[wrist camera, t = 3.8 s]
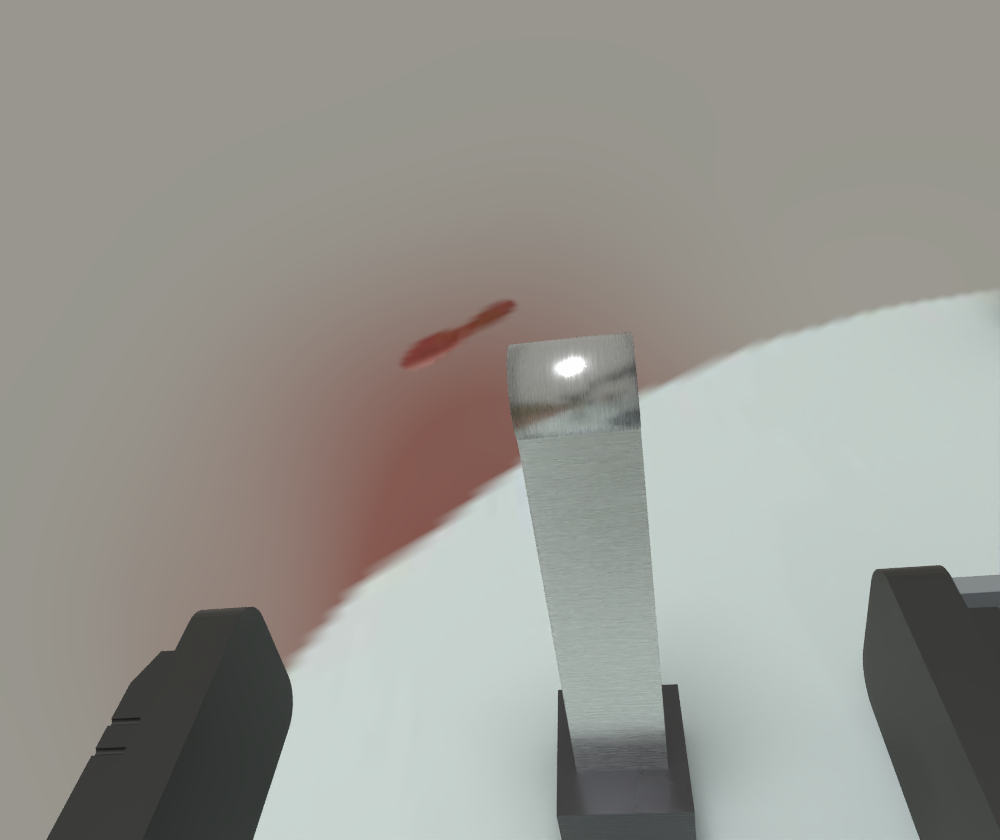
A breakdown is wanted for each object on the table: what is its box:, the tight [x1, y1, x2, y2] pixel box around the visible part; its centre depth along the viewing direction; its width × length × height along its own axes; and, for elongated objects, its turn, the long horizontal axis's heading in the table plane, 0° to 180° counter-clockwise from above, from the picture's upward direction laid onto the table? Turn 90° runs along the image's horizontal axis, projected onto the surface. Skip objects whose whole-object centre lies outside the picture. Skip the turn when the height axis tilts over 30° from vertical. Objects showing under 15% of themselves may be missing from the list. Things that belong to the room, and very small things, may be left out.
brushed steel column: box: [507, 332, 696, 840], centre depth 27 cm, size 5×5×20 cm
